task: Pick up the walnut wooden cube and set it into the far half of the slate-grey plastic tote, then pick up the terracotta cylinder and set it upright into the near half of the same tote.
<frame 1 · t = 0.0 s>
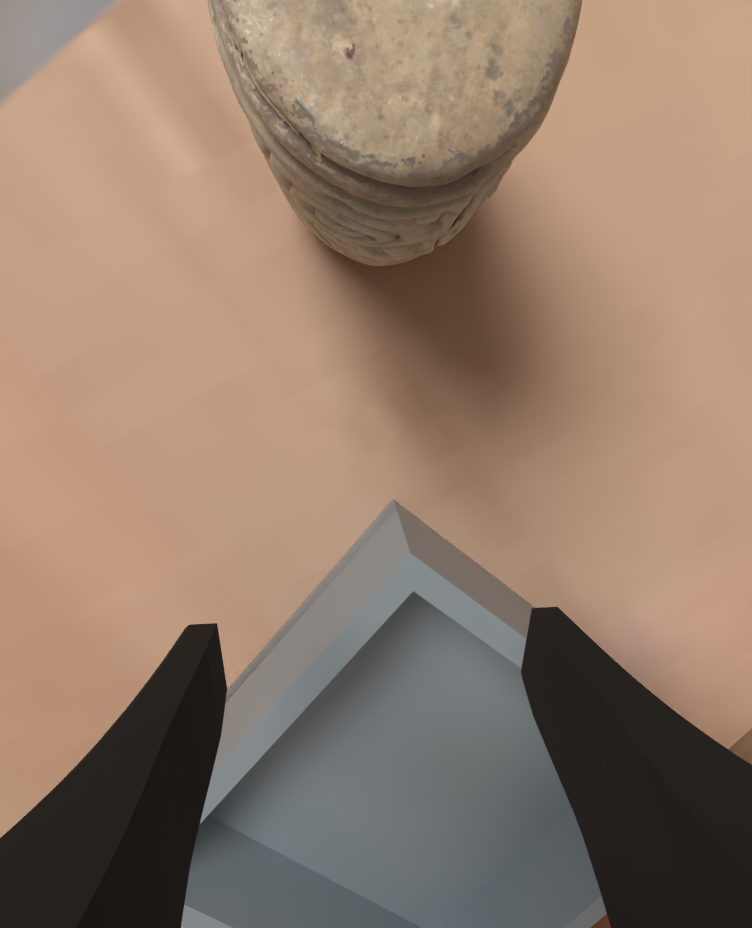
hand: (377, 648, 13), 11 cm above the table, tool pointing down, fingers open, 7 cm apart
tote: (414, 745, 27), on the table
carving: (363, 159, 20), on the table
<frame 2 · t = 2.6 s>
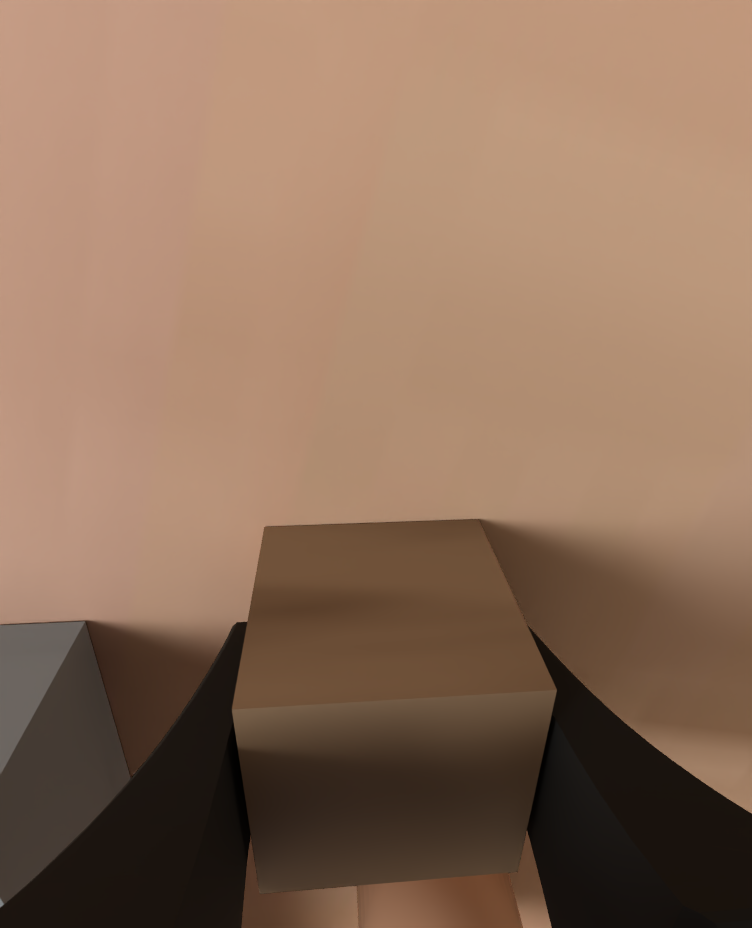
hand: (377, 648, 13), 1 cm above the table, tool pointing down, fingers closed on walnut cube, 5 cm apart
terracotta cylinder: (428, 853, 19), on the table
walnut cube: (372, 606, 14), on the table, touching gripper
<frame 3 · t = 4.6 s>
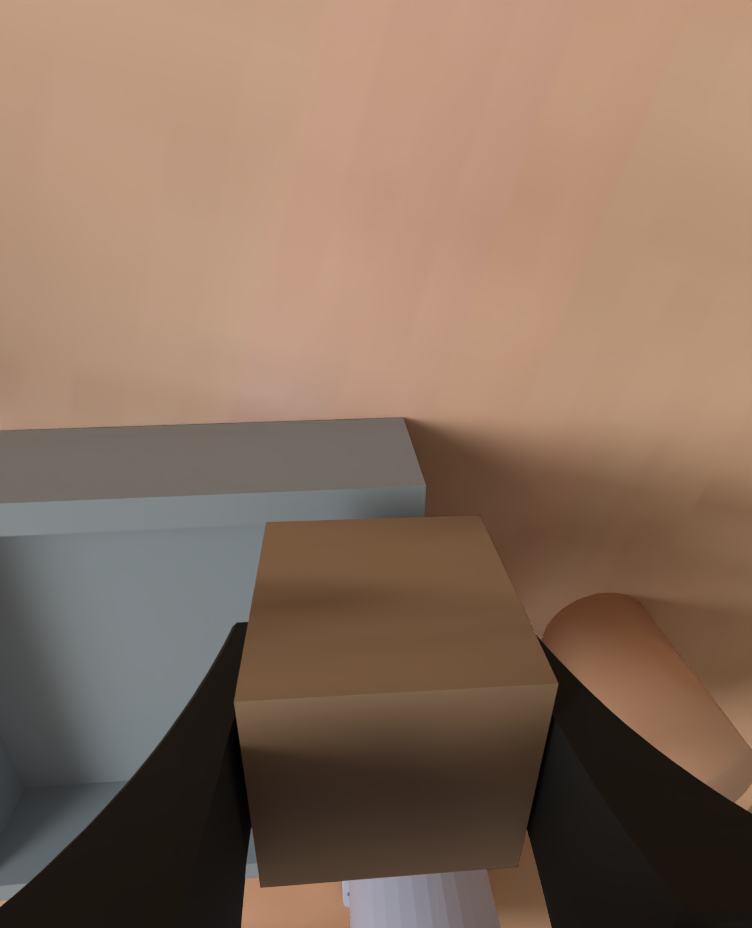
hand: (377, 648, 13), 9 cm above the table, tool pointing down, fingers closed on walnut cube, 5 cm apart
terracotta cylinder: (595, 636, 25), on the table
tote: (183, 627, 23), on the table
walnut cube: (373, 602, 14), point 7 cm above the table, touching gripper
when the fingers open (4 cm above the table, at t = 6.4 s): walnut cube drops 2 cm, resting on tote.
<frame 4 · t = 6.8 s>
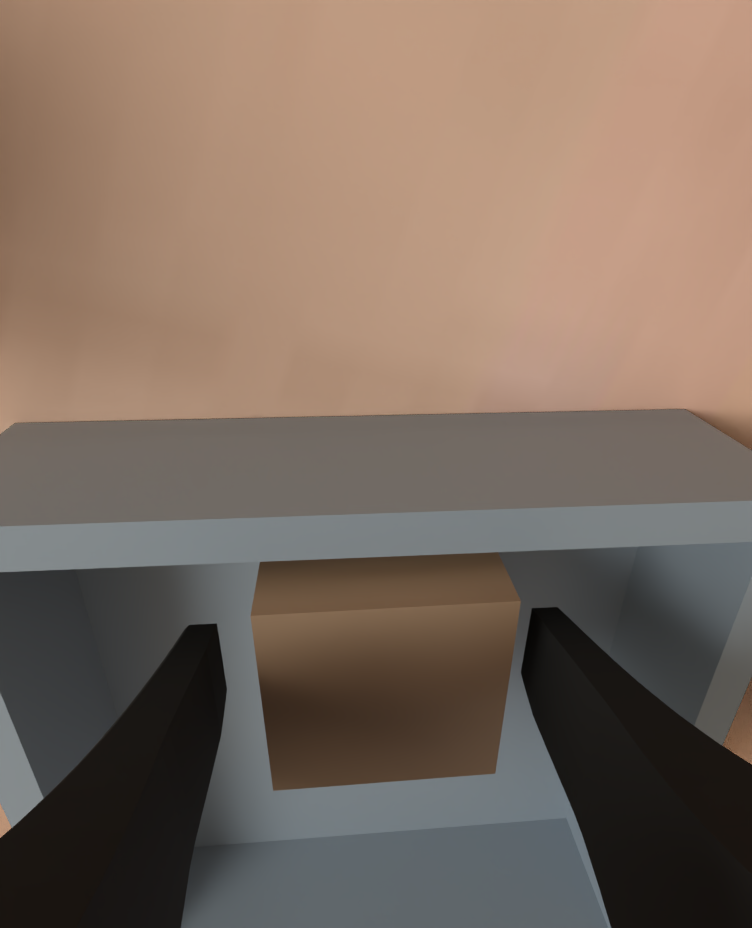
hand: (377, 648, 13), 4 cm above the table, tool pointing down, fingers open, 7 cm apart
tote: (364, 662, 19), on the table
walnut cube: (369, 557, 16), point 1 cm above the table, touching tote
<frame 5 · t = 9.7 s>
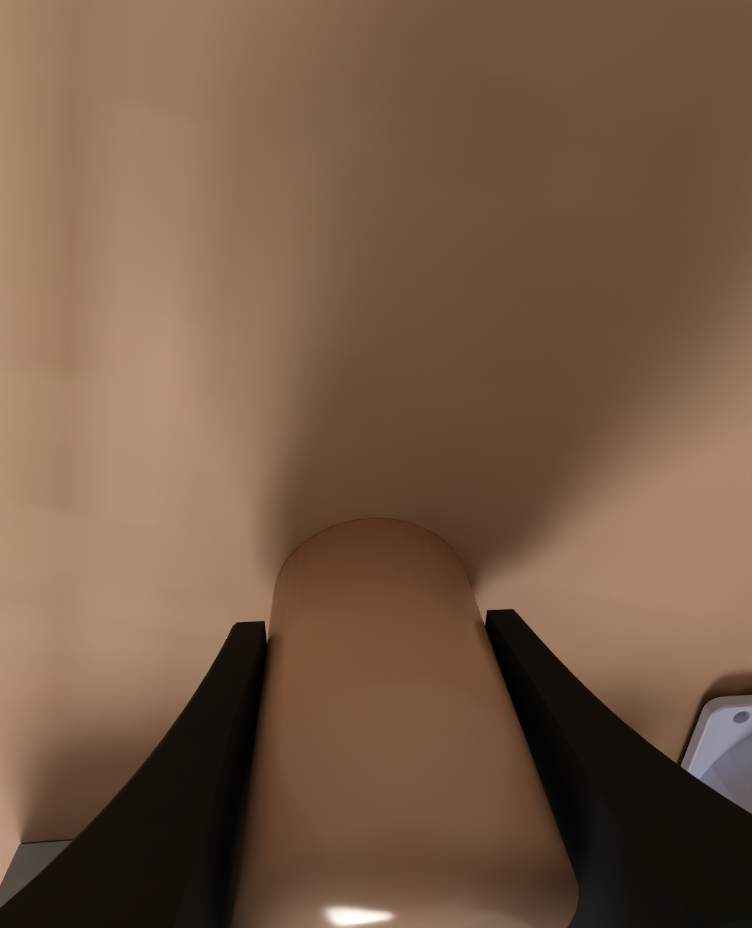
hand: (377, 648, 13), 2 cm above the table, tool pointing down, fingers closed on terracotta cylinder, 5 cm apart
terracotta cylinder: (371, 601, 14), on the table, touching gripper
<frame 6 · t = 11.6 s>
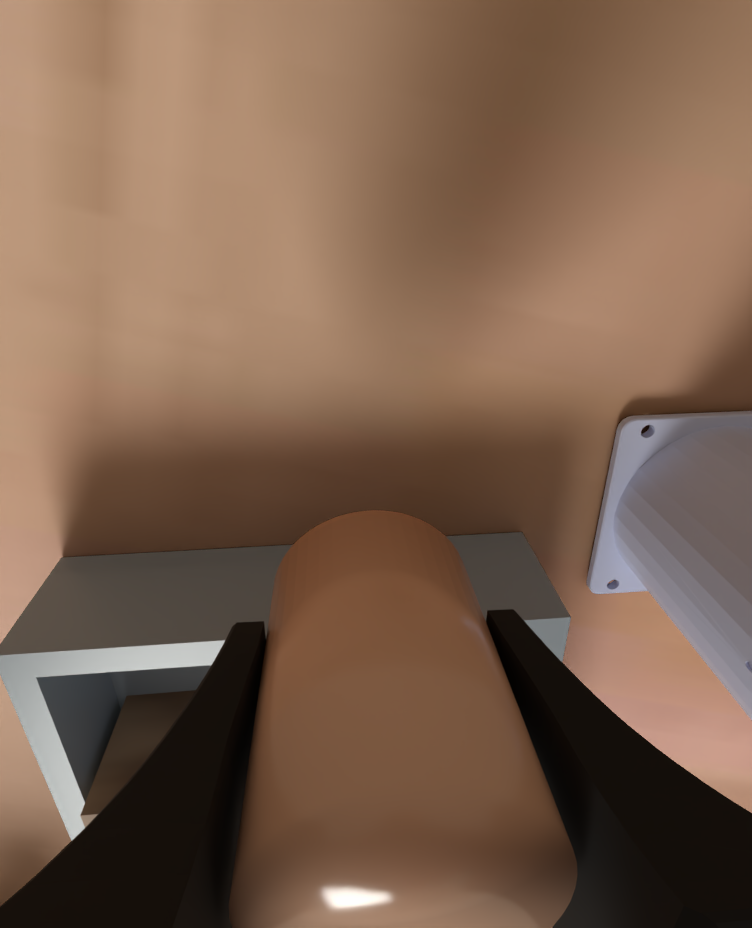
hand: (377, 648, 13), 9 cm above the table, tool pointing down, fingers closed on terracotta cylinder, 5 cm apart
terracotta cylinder: (371, 595, 14), point 7 cm above the table, touching gripper
tote: (312, 704, 26), on the table
walnut cube: (196, 730, 25), point 1 cm above the table, touching tote
when the fingers open (4 cm above the table, at t = 13.9 s): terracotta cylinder stays where it is, resting on tote.
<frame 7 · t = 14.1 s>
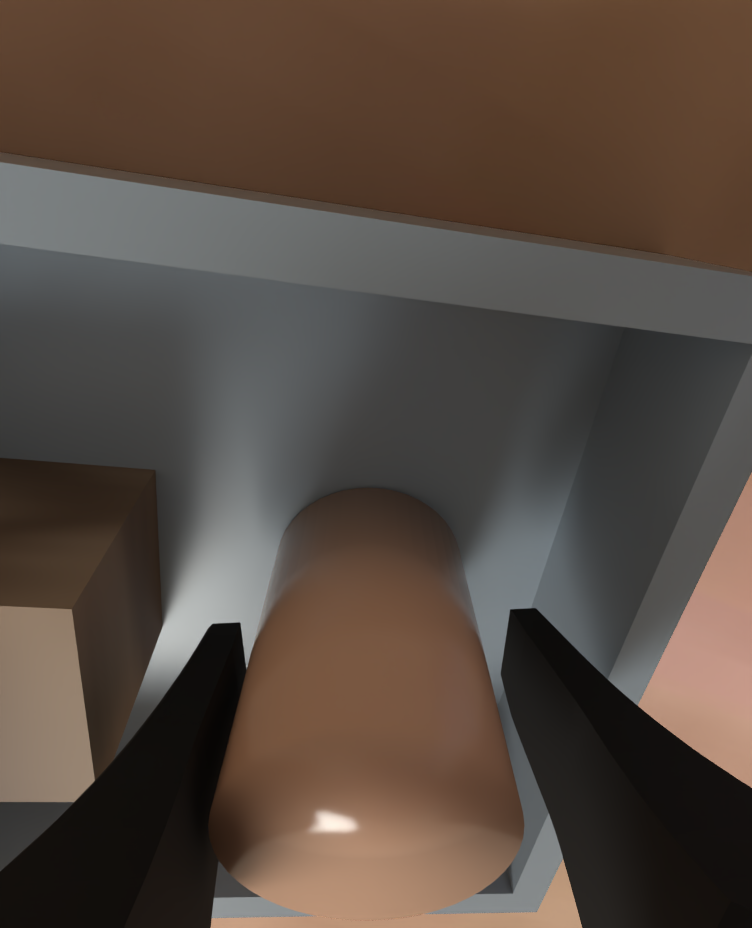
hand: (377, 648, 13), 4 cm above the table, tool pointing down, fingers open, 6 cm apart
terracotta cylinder: (368, 568, 15), point 1 cm above the table, touching tote
tote: (262, 542, 16), on the table
walnut cube: (58, 548, 14), point 1 cm above the table, touching tote
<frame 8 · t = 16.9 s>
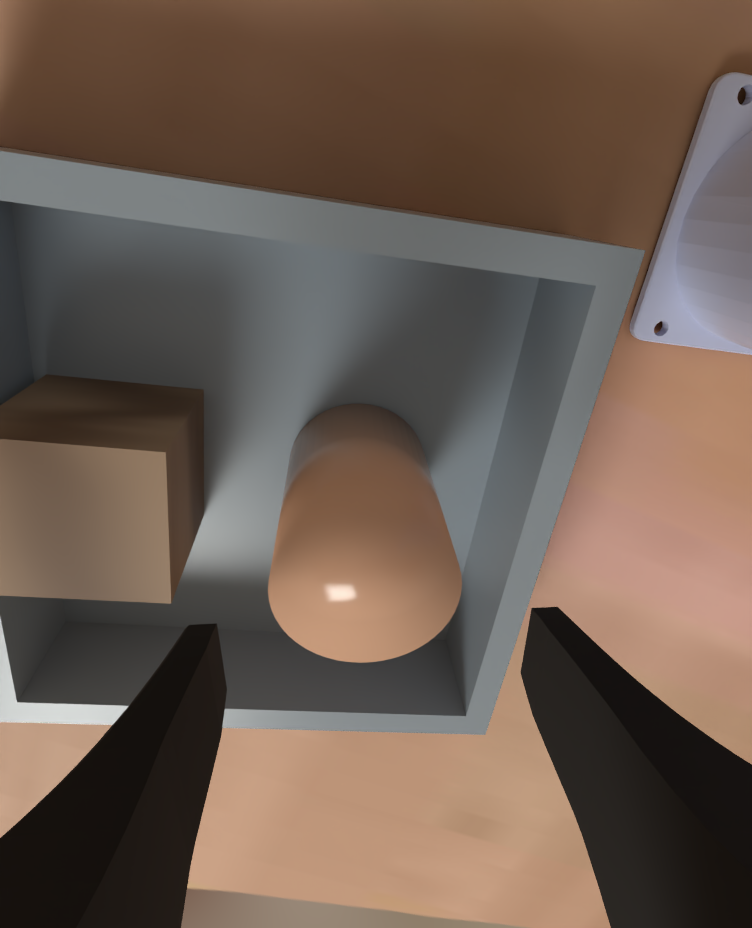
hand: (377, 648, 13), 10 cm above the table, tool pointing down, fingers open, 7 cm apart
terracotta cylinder: (357, 466, 21), point 1 cm above the table, touching tote
tote: (278, 452, 21), on the table
walnut cube: (130, 449, 20), point 1 cm above the table, touching tote
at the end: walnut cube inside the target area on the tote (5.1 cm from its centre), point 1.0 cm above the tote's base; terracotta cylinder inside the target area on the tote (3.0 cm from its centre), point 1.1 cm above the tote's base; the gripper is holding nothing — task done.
